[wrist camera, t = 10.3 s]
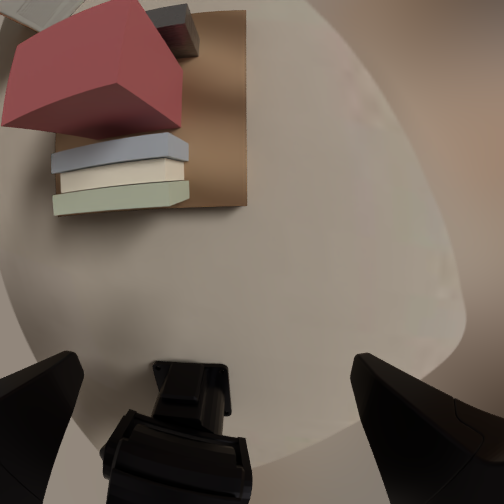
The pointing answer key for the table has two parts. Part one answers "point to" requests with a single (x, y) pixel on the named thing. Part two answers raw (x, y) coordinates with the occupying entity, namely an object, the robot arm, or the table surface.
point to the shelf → (205, 116)
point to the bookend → (177, 30)
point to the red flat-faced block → (95, 76)
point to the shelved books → (121, 174)
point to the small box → (38, 11)
